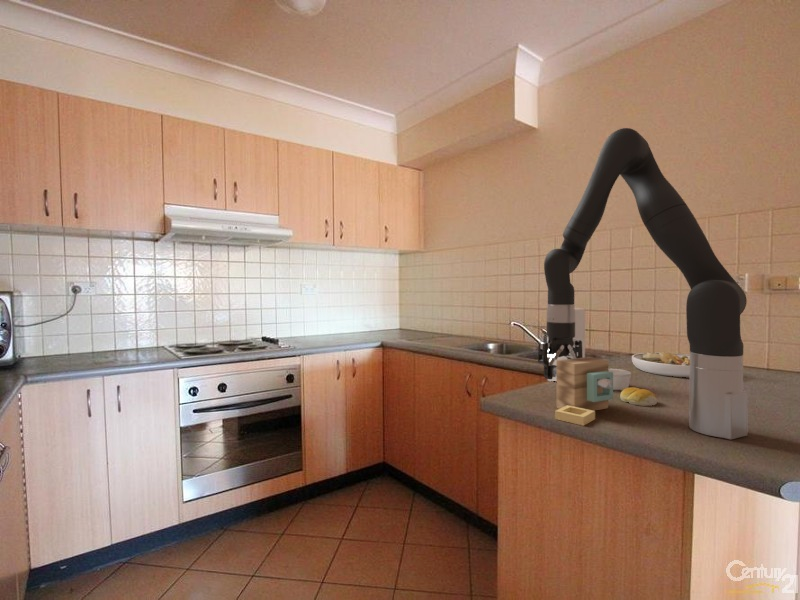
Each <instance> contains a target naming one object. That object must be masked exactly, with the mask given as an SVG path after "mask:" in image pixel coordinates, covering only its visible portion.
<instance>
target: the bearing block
mask: <svg viewBox="0 0 800 600" xmlns="http://www.w3.org/2000/svg"><path fill="white" fill-rule="evenodd" d="M608 368H609V360H608V359H604V358H599V357H597V358H596V357H592V356H585V357H584V358H574V359H564V360H557V383H556V408H557V409H560V408H562V407H565V406H567V405H569V406H574V407H579V408H583V409H588V410H593V411H599V410H604V409H609V400H604V401H597V402H591V401H588V400H587V373H593V372H601V371H608ZM599 393H603V388H601V387H598V386H597V394H599Z"/></svg>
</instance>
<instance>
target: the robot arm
mask: <svg viewBox="0 0 800 600" xmlns="http://www.w3.org/2000/svg"><path fill="white" fill-rule="evenodd" d="M620 176H621V178H622V179H623V180H624V182H625V183H626V184H627V186H628V187H629V188H630V190H631V191H632V194H633V196H634V199H635V201H636V202H635V203H636V207H637V211H638V213H639V217H640V219H641V221H642V224H644V226H645V228H646V230H647V232H648V234H649V235H650V237H651V238H652V240H653V242H654V243H655V244H656V245H657V247H658V248H659V249H660V250H661V251H662V252H663V254H664V255H665V256H666V257H667V258H668V259H669V260H670V261H671V262H672V263H674V265H675V266H676V267H677V268H678V269H679V271H680V272H681V273H682V275H683V276H684V278H685V281H686V282H687V283H688V287H689V288H690V291H689V292H688V294H687V298H686V303H685V304H686V307H685V308H686V315H685V316H686V336H687V340H688V343H689V355H690V376H689V378H688V379H689V387H688V388H689V389H688V390H689V391H688V394H689V399H688V401H689V402H688V403H689V405H688V407H689V409H688V413H689V415H688V427H689V429H690V430H692V431H694V432H697V433H700V434H702V435H706V436H711V437H717V438H721V439H727V440H736V439H740V438H742V437H747V436H748V425H749V422H748V419H749V418H748V417H749V416H748V409H749V406H748V405H749V393H748V391H747V390H745V389H744V343H743V340H742V337H741V315H742V314H743V313H744V311H745V310H746V307H747V304H748V303H747V301H748V300H747V296H746V292H745V291H744V289H742V287H741V286H740V285H739V284H738V283H737V282H736V280H735V279H734V278H733V276H732V275H731V274H730V273H729V272H728V271H727V269H726V267H725V266H724V265H723V264H722V263H721V262H720V260H719V258H718V257H717V255H716V254H715V252H714V250H713V249H712V246H711V245H710V243H709V241H708V238H707V237H706V235H705V233H704V231H703V230H702V228H701V226H700V224H699V223H698V221H697V219H696V217H695V216H694V213H692V211H691V209H690V208H689V206H688V204H687V203H686V202H685V200H684V199H683V198H682V196H681V195H680V194H679V191H677V190H676V189H675V188H674V186H673V185H672V184H671V183H670V181H668V179H667V178H666V177H665V176H664V173H662V171H661V169H660V166H659V165H658V163H657V161H656V159H655V157H654V154H653V151H652V150H651V146H650V145H649V143H648V141H647V139H646V138H644V136H642V134H640V133H639V132H638V131H637V130H635V129H633V128H630V127H629V128H628V127H622V128H619V129H617V130H615V131H614V132H612V133H611V134H609V136H608V137H607V138H606V139H605V141H604V143H603V145H602V148H601V149H600V152H599V154H598V158H597V160H596V163H595V166H594V169H593V171H592V173H591V175H590V178H589V180H588V182H587V183H588V184H587V185H586V188H585V190H584V193H583V195H582V197H581V199H580V201H579V203H578V205H577V207H576V208H575V210H574V212H573V213H572V216H571V217H570V219H569V221H568V223H567V224H566V227H564V230H563V233H562V236H563V241H562V243H561V246H560V247H559V248H554V249H551V250H550V251H549V252H548V253H547V254H546V256H545V257H544V258H545V259H544V263H543V269H544V270H543V271H544V276H545V282H546V286H547V307H546V308H547V309H546V336H547V342H546V341H545V342H544V341H539V342H538V349H537V363H538V364H542V365H543V376H544V378H545V379H546V380H548V379H549V380H550V379H552V375H553V366H552V364H553V363H554V361H555V360H557V358H558V357H562V356H565V357H566V358H567V359H574V358H583V357H582V341H581V340H575V339H573V338H574V337H575V308H576V307H575V295H576V294H575V288H574V285H573V284H572V283H571V276H570V275H571V274H572V273H573V272H575V270H577V268H578V267H579V264H580V263H581V260H582V258H583V256H584V253H585V250H586V248H587V245H588V243H589V241H590V240H591V238H592V236H593V234H594V233H595V231H596V230H597V228H598V226H599V225H600V223H601V221H602V218H603V216H604V213H605V210H606V207H607V202H608V200H609V197H610V194H611V192H612V189H613V187H614V186H615V183H616V181H617V180H618V178H619V177H620ZM577 352H578V356H577ZM551 353H552V355H551ZM549 359H550V360H549Z"/></svg>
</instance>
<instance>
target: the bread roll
mask: <svg viewBox="0 0 800 600" xmlns="http://www.w3.org/2000/svg"><path fill="white" fill-rule="evenodd" d="M619 395H620V396H619V397H620V400H621V401H622V402H624V403H627V402H629V405H634V406H640V407H648V406H649V407H651V406H652V405H653V406H655V405H657V403H658V397H657V395H656V394H655V393H653V392H652V391H651V390H648V389H645V388H642V389H641V388H639V387H634V386H633V387H630V386H629V387H628V388H626V389H624V390H621V392H620V394H619Z"/></svg>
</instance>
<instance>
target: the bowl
mask: <svg viewBox="0 0 800 600" xmlns="http://www.w3.org/2000/svg"><path fill="white" fill-rule="evenodd" d="M631 361H632V363H633V366H635V367H636V368H637V369H638V370H640V371H642V372H644V373H649V374H654V375H659V376H664V377H665V376H666V377H672V376H673V378H682V377H686V379H689V376H690V354H687V353H685V354H683V353H671V352H665V351H663V352H661V351H659V352H643V353H635V354H633V355H631Z"/></svg>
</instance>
